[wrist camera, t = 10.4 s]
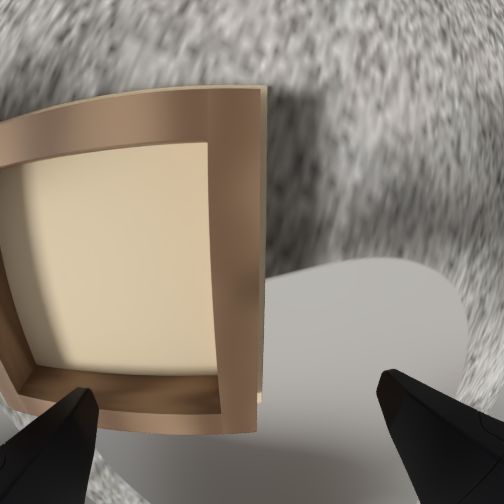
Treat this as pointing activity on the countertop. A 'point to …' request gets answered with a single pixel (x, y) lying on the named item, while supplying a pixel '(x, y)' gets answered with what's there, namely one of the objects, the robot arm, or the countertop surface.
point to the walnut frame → (221, 258)
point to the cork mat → (119, 255)
